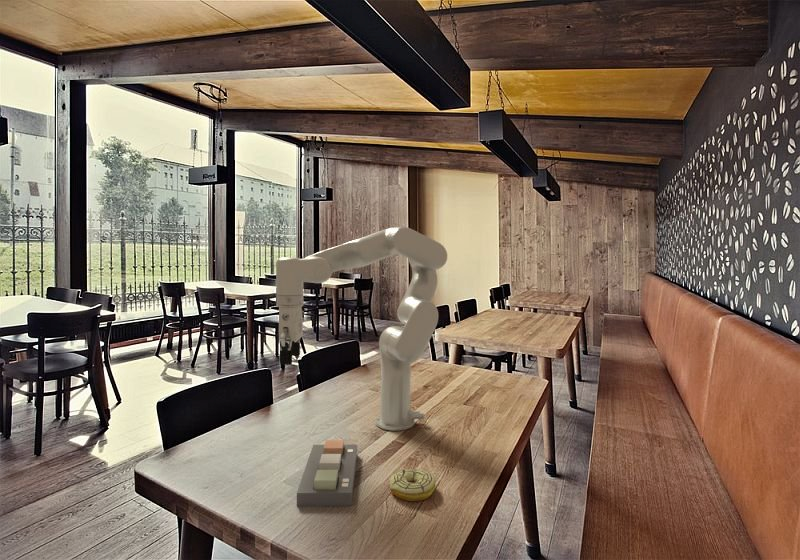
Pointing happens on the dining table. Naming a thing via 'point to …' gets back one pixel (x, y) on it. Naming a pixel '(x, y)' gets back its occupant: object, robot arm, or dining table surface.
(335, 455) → the grey key
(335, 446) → the terracotta key
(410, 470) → the decorated donut
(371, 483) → the dining table surface
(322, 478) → the sage key
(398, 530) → the dining table surface
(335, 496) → the keypad
